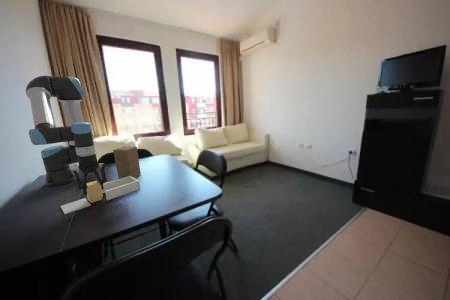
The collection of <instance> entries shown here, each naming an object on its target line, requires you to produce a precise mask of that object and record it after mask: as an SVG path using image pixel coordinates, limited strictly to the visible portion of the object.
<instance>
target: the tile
mask: <svg viewBox="0 0 450 300" xmlns="http://www.w3.org/2000/svg"><path fill="white" fill-rule="evenodd" d="M91 204H92V203H91V202H90V201H89V200H88V199H87V197H84V198H81V199H78V200H73V201H72V202H68V203H65V204H63V205H60V208H61V210H62V212H63V214H64V215H67V214H70V213H73V212H76V211H78V210H81V209H85V208H87V207H90V206H92V205H91Z"/></svg>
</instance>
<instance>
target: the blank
mask: <svg viewBox="0 0 450 300" xmlns="http://www.w3.org/2000/svg"><path fill="white" fill-rule="evenodd" d="M86 187H87V188H88V193H89V198H90V201H89V203H90V204H92V203H96V202H98V201H102V200H103V197H102V194H103V193H102V194H101V189H100V183H99V182H98V180H95V181H89V182H87V185H86Z"/></svg>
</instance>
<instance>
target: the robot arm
mask: <svg viewBox="0 0 450 300" xmlns="http://www.w3.org/2000/svg"><path fill="white" fill-rule="evenodd" d="M25 94H26V97H27V98H28V99H29V101H30V108H31V114H32V120H33V125H34V128H31V129H29V130H28V135H29V139H30V142H31V145H34V146H44V145H45V146H46V145H51V144H55V145H53V146H49V147H46V148H43V149H42V150H41V151H40V154H41V159H42V163H43V166H44V170H45V178H44V184H45V186H46V187H58V186H62V185H63V186H64V185H66V184H70V183H73V182H74V181H75V183H76V187H77V188H78V190H82V192H83V194H84V196H86V200H87V201H88V202H90V198H89V193H88V188H87V187H86V185H87V183H88V176H89V174H90V173H93V175H94V177H95V178H96V181H98V182H99V183H100V189H101V194H102V198H103V197H104V193H102V190H103V189H104V187H103V184H104V183H107V182H108V181H107V175H106V171H105V167H106V164H105V163H103V162H101V163H99V162H98V157H97V153H96V148H95V143H94V137H93V131H92V130H93V129H92V127H91V124H90V122H86V121H85V122H84V118H83V113H82V108H81V102H82V101H83V98H84V97H85V94H84V90H83V87H82V84H81V82H80V80H79V79H78V78H77V77H74V76H62V75H60V76H59V75H56V76H55V75H40V76H36V77H34V78H33V79H31V80H30V81H29V82H28V84H26V88H25ZM51 98H57V101H59V102H60V103H61V105H62V108H63V112H64V117H65V121H66V125H67V126H57V124H56V122H55V117H54V113H53V108H52V105H51ZM67 142H68V146H65V144H60V143H67ZM57 143H58V144H57ZM56 144H57V145H56ZM72 164H78V167H76V168H75V169H74V168H73V169H72V168H71V167H70V166H71V165H72ZM98 168H100V175H101V176H100V175H99V172H98V171H97V170H98ZM80 171H81V172H82V184H81V179H80V175H79V173H80Z"/></svg>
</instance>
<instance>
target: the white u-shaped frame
mask: <svg viewBox="0 0 450 300" xmlns="http://www.w3.org/2000/svg"><path fill="white" fill-rule="evenodd" d="M140 186H141V185H140V180H138V179H136V177H135V178H133V177H131V176H128V177H124V178H121V179H118V178H117V179H114V180H112V181H111V180H110V181H106V182H104V183H103V187H104V189H103V190H102V194H105V198H106V200H107V201H110V200H112V199H115V198H119V197H122V196H124V195H126V194H129V193H132V192H135V191H137V190H140V189H141V187H140Z"/></svg>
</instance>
